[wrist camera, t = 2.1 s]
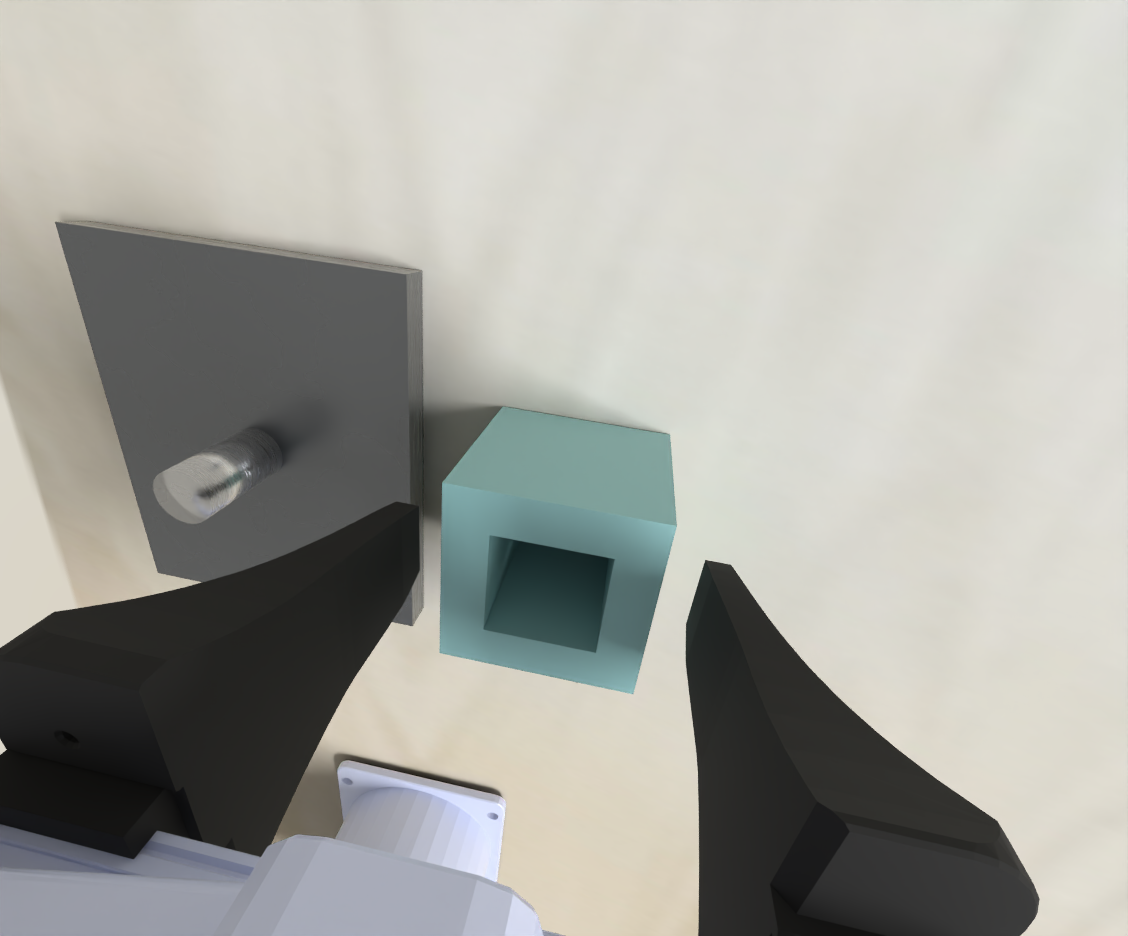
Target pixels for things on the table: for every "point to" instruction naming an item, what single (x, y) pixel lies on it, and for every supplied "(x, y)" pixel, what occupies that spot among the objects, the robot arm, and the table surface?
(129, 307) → the pin plate
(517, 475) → the square hole block
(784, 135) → the table surface
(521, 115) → the table surface
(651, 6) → the table surface
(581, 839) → the table surface
